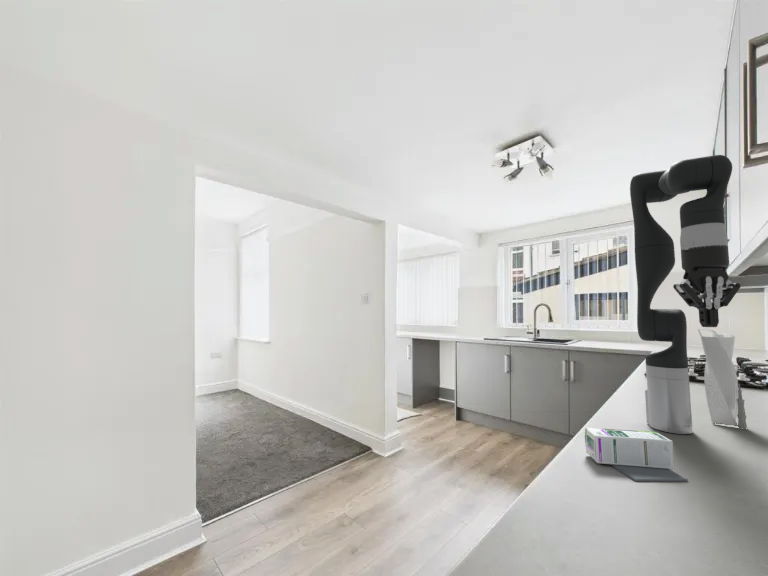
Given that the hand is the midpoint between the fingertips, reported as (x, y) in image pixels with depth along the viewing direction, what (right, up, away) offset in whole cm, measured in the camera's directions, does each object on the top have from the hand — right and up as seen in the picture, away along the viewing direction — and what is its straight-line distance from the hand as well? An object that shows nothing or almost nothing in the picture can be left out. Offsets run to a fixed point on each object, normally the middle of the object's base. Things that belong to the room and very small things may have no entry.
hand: (709, 327), depth 73 cm
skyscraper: (+30, -32, +27) cm, 51 cm away
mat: (-17, -29, -2) cm, 34 cm away
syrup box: (-10, -26, -2) cm, 28 cm away
